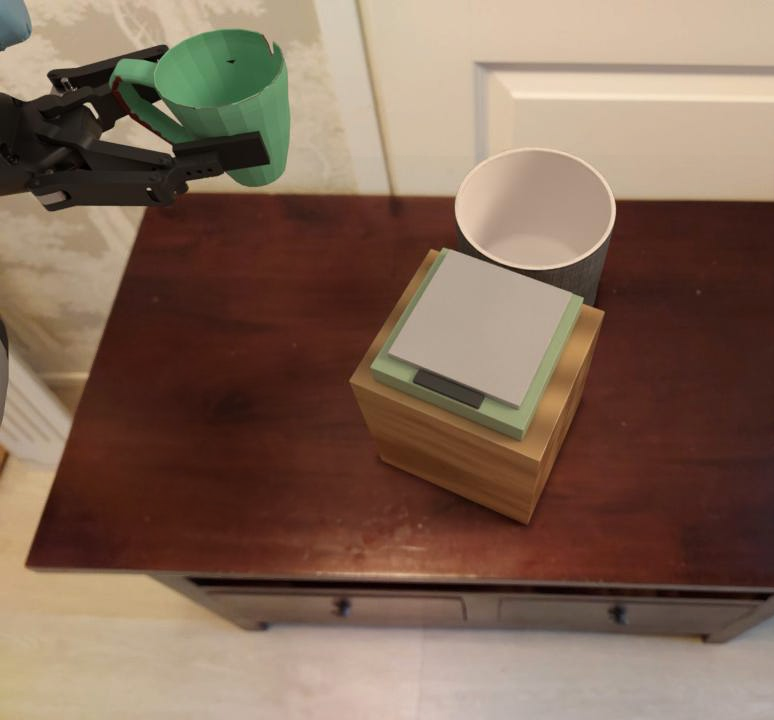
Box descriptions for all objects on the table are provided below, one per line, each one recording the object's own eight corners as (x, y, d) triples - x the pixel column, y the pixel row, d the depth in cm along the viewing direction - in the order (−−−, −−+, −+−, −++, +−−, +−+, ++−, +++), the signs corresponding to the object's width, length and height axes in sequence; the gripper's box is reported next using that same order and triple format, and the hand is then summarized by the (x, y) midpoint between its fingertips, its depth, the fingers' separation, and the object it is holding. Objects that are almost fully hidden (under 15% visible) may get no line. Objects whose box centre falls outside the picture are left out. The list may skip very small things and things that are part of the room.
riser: (527, 525, 71) (539, 461, 53) (381, 460, 75) (348, 381, 57) (579, 403, 78) (605, 311, 60) (443, 349, 82) (430, 248, 64)
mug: (326, 135, 60) (299, 32, 52) (296, 213, 55) (261, 113, 47) (175, 122, 61) (124, 19, 53) (132, 197, 56) (68, 97, 48)
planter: (587, 232, 90) (605, 144, 76) (604, 343, 82) (627, 266, 68) (458, 236, 90) (453, 149, 76) (461, 348, 82) (455, 273, 68)
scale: (521, 441, 54) (523, 426, 51) (374, 380, 57) (368, 362, 54) (580, 312, 60) (585, 292, 57) (444, 262, 63) (442, 241, 60)
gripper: (21, 97, 60) (270, 62, 62) (-18, 288, 49) (282, 238, 51) (-37, 20, 53) (243, -17, 55) (-96, 221, 43) (251, 167, 45)
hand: (262, 106), depth 53 cm, fingers closed on mug, 9 cm apart
